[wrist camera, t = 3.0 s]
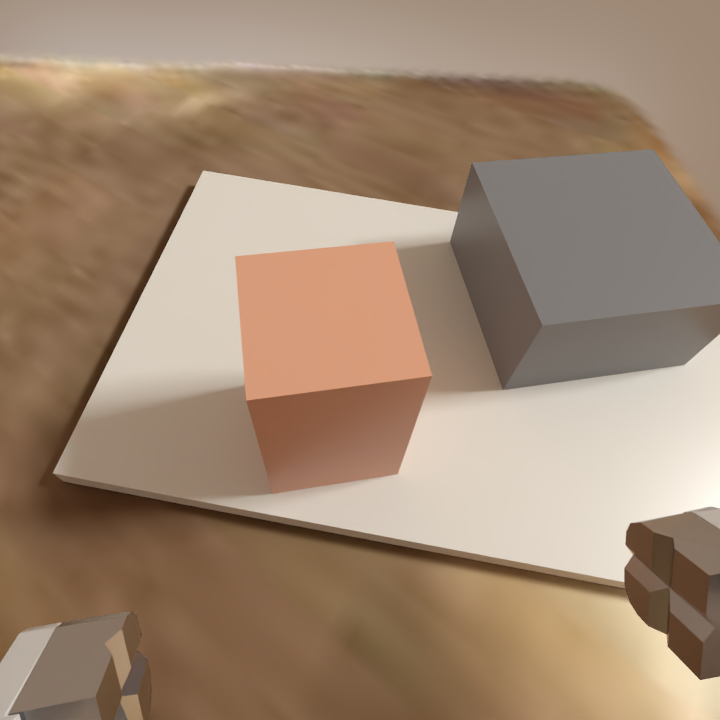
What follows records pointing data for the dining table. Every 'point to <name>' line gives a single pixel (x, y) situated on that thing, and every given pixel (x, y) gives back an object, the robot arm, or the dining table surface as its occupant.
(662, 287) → the foundation block
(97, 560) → the dining table surface
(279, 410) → the pillar block
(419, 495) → the baseplate
